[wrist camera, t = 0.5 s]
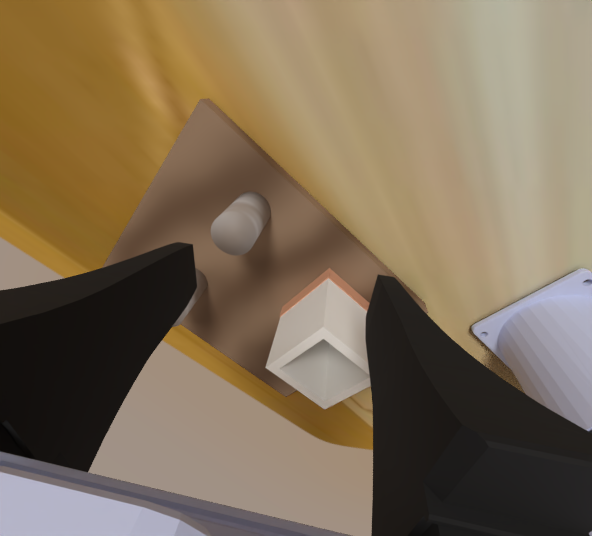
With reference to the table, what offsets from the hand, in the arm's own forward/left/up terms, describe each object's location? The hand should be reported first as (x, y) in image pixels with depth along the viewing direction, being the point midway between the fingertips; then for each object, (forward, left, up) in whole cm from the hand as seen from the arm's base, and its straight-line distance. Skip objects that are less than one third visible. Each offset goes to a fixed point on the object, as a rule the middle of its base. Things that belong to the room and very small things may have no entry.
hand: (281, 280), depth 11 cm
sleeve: (-7, +5, -8) cm, 11 cm away
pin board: (-2, +8, -10) cm, 12 cm away
